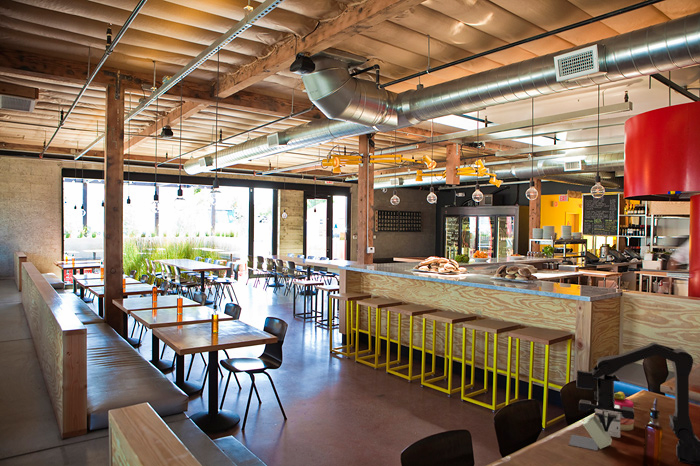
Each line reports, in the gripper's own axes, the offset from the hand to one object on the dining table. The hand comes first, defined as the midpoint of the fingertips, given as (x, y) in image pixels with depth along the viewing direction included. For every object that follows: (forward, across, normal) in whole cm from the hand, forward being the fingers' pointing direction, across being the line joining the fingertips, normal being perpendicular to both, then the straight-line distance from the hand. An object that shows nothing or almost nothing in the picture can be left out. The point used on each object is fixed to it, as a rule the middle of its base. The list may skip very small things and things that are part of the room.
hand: (606, 431), depth 177 cm
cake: (+6, -4, -27) cm, 28 cm away
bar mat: (+6, +8, 0) cm, 10 cm away
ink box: (+6, 0, -15) cm, 16 cm away
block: (+5, 0, 0) cm, 5 cm away
